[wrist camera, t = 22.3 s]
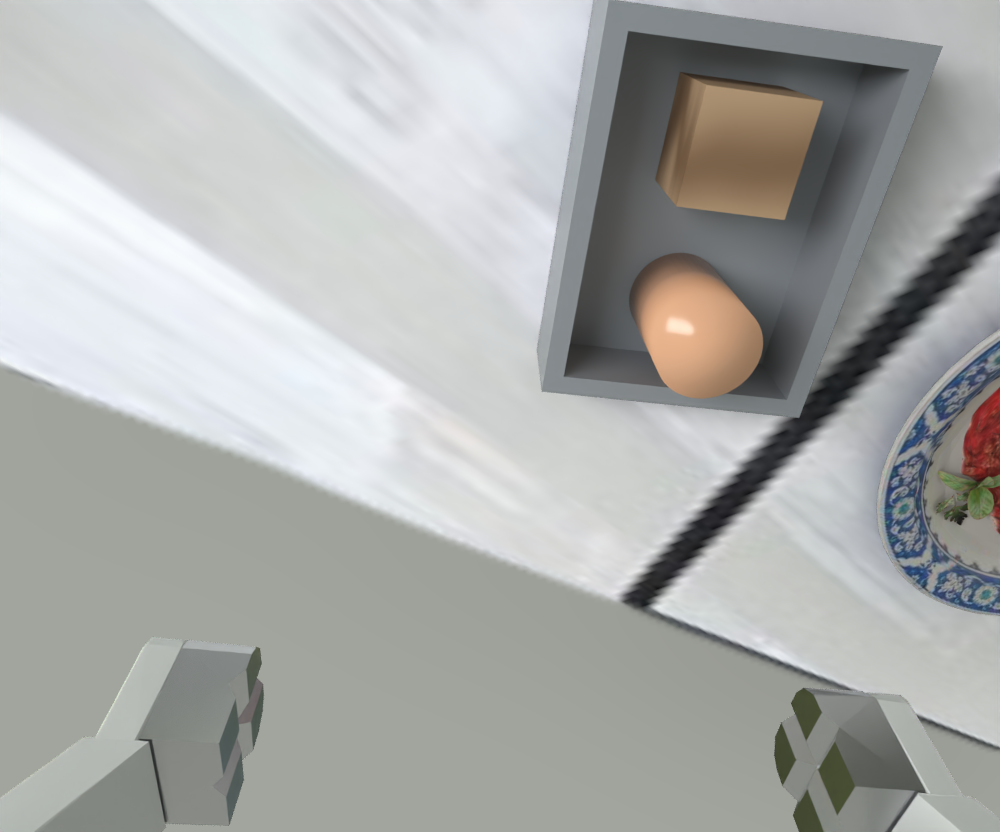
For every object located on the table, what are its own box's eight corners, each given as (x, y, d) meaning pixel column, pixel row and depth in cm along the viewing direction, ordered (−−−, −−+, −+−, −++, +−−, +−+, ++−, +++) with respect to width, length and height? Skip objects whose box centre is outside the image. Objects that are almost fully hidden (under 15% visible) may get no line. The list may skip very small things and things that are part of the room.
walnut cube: (679, 72, 34) (706, 85, 30) (782, 86, 35) (823, 101, 30) (655, 180, 37) (676, 206, 32) (750, 192, 37) (784, 220, 33)
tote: (594, -3, 33) (608, -1, 29) (886, 37, 34) (942, 46, 30) (536, 349, 42) (541, 391, 38) (768, 374, 43) (798, 417, 39)
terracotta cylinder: (638, 248, 39) (668, 296, 32) (730, 257, 39) (776, 306, 33) (621, 335, 41) (645, 394, 35) (707, 342, 41) (746, 402, 35)
